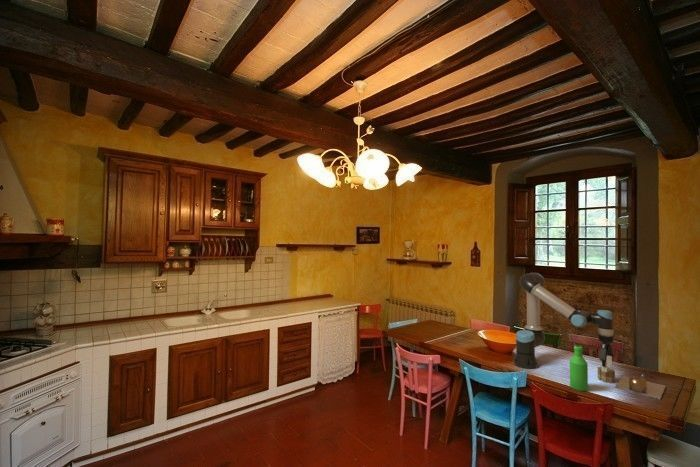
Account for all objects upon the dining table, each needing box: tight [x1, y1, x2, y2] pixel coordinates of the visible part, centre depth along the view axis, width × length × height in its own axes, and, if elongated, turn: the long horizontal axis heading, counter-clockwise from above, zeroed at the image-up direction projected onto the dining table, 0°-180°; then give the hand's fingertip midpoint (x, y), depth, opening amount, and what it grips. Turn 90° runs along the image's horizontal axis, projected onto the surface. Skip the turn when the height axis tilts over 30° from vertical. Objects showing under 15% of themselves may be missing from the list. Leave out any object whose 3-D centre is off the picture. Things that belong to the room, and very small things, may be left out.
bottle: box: [569, 345, 589, 392], centre depth 198 cm, size 9×9×25 cm
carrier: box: [614, 372, 666, 400], centre depth 199 cm, size 25×20×8 cm
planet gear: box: [597, 366, 616, 384], centre depth 210 cm, size 9×9×7 cm
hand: (606, 368), depth 209 cm, fingers open, 13 cm apart
